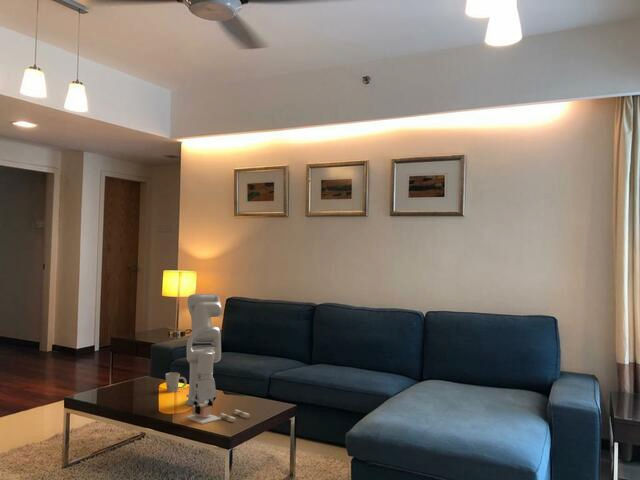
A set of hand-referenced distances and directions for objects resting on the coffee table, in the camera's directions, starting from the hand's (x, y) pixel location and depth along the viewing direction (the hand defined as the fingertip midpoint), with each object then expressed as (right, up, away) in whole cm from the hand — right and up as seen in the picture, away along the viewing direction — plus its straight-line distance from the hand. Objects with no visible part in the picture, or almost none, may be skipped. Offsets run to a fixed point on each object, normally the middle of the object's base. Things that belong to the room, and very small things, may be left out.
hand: (203, 411), depth 257 cm
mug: (-28, -4, +51) cm, 58 cm away
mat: (0, -3, 0) cm, 3 cm away
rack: (+15, -4, +2) cm, 16 cm away
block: (-1, -1, +1) cm, 2 cm away
